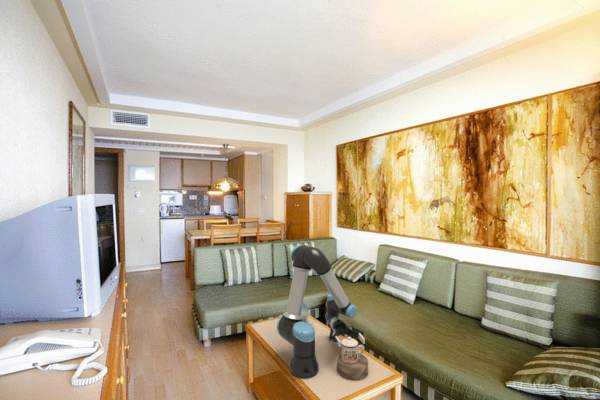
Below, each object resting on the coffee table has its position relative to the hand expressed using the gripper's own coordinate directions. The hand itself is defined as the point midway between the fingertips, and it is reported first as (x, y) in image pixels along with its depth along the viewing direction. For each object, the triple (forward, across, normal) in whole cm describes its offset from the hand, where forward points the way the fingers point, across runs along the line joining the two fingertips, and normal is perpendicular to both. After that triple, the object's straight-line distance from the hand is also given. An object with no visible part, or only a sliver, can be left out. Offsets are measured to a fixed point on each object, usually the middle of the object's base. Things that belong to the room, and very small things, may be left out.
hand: (352, 342), depth 152 cm
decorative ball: (-64, +16, -15) cm, 68 cm away
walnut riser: (0, 0, -15) cm, 15 cm away
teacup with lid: (0, 0, -9) cm, 9 cm away
